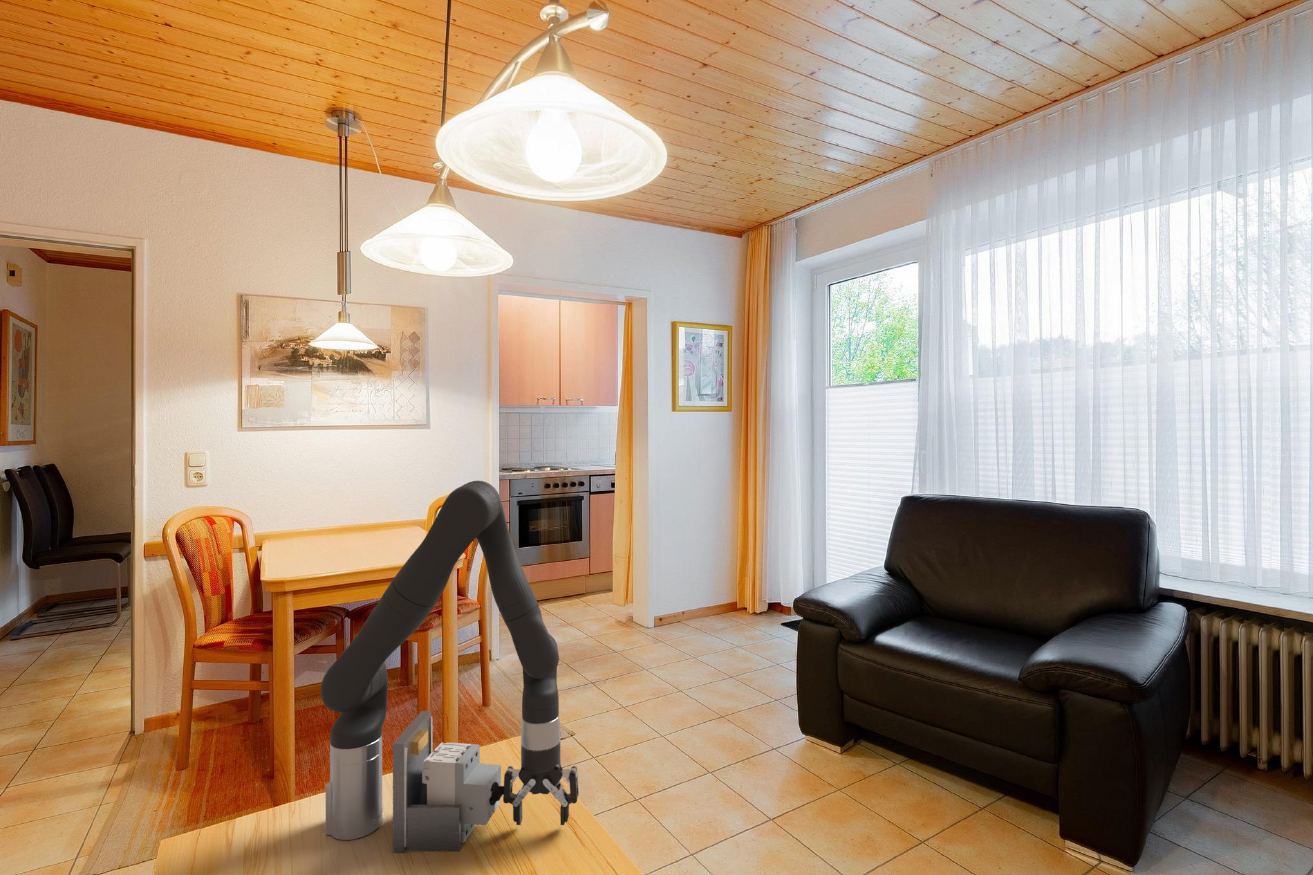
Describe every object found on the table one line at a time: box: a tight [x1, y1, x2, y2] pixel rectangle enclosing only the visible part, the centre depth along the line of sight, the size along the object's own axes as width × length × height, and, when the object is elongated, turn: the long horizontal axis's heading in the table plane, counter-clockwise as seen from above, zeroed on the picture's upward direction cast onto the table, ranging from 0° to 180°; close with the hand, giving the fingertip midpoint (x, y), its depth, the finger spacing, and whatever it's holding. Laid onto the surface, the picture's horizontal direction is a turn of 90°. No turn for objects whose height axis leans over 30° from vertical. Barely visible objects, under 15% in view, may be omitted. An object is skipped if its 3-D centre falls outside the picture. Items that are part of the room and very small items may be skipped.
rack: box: [392, 710, 462, 854], centre depth 124 cm, size 12×14×20 cm
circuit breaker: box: [422, 741, 504, 845], centre depth 124 cm, size 8×14×15 cm, turn 83°
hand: (541, 822), depth 124 cm, fingers open, 8 cm apart
